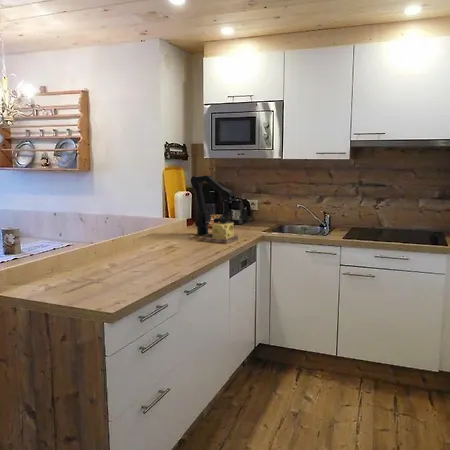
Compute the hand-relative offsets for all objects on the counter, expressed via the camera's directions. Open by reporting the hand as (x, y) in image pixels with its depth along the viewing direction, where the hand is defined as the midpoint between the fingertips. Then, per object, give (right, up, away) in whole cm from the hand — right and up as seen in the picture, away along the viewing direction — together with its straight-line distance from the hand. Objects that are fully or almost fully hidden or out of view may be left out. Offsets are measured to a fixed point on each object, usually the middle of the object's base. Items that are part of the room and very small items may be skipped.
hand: (228, 233), depth 288 cm
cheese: (-3, -3, -7) cm, 8 cm away
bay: (-6, -4, -10) cm, 12 cm away
